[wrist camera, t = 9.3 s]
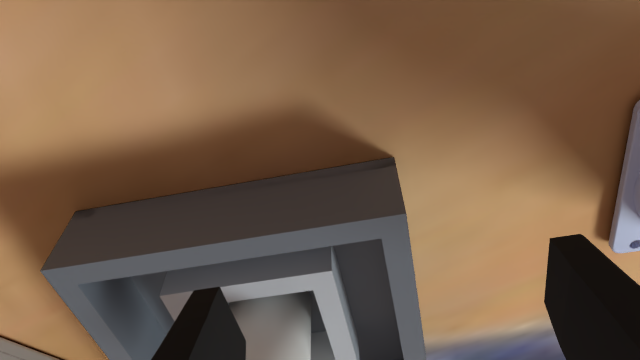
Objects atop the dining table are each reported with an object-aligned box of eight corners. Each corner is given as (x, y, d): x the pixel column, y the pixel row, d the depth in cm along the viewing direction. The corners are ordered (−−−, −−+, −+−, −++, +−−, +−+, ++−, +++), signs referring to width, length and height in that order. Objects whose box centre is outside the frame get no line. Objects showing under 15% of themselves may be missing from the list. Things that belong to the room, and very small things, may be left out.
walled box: (394, 157, 20) (406, 213, 18) (423, 356, 29) (434, 416, 26) (75, 211, 22) (40, 270, 19) (189, 385, 30) (176, 444, 27)
